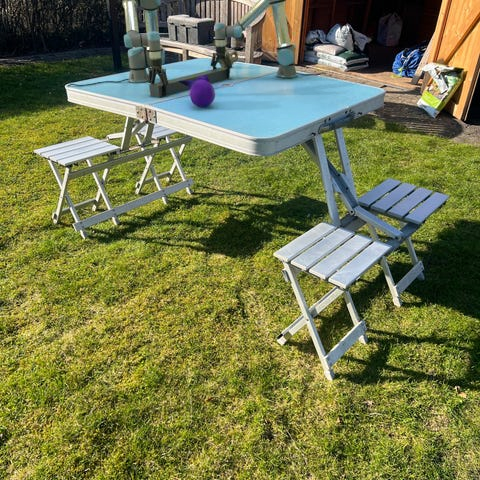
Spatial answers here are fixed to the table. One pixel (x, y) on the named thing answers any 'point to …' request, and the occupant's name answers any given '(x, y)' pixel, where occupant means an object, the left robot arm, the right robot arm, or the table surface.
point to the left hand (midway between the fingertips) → (159, 95)
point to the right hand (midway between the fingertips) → (221, 77)
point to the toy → (201, 91)
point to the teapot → (230, 58)
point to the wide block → (177, 87)
